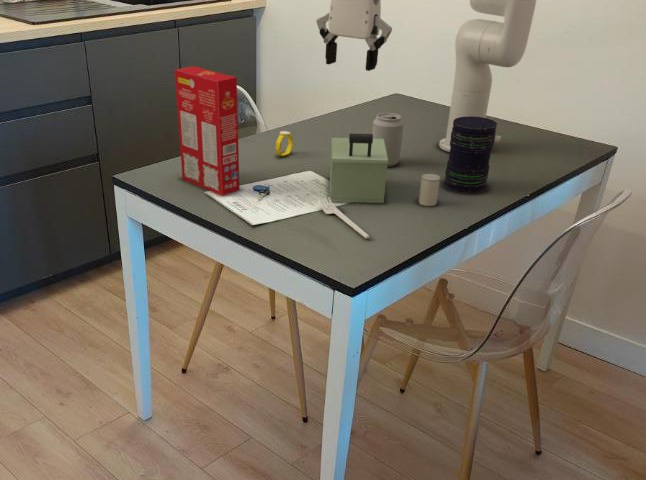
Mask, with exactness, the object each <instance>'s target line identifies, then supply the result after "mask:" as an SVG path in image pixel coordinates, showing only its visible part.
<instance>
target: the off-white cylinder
mask: <svg viewBox="0 0 646 480" xmlns="http://www.w3.org/2000/svg"><path fill="white" fill-rule="evenodd" d="M440 182H441V176H440V175H438V174H434V173H425V174H422V175H421V180H420V187H419V197H418V203H419V205H421V206H425V207H433V206H436V205H437V204H438V196H439V189H440Z"/></svg>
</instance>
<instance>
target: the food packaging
mask: <svg viewBox="0 0 646 480" xmlns="http://www.w3.org/2000/svg"><path fill="white" fill-rule="evenodd" d="M174 79H175V93H176V106H177V121H178V122H177V123H178V136H179V151H180V163H181V164H180V165H181V178H182V180H183V181H185V182H188V183H190V184H193V185H196V186H198V187H200V188H203V189H205V190H208V191H210V192H211V193H215V194H217V195H220V196H225V195H229V194H232V193H235V192H238V191H240V160H239V155H240V154H239V153H240V152H239V118H238V117H239V116H238V77H236V76H233V75H228V74H225V73H221V72H217V71H214V70H209V69H205V68H202V67H198V66H194V65H192V66H187V67H182V68H177V69H174Z"/></svg>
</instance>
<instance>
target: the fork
mask: <svg viewBox="0 0 646 480" xmlns="http://www.w3.org/2000/svg"><path fill="white" fill-rule="evenodd" d="M318 201H319V204H320V206H321V209H322V211H323V213H324V214H325V215H332V214H335V215H336V216H337V217H338V218H340V219H341V220H342V221H343V222H345V223H346V225H349V226H350V227H351V228H352V229H354V230H355V231H356V232H357V233H358V234H359V235H361V236H362V237H363V238H365V239H369V238H370V236H369V234H368V233H366V232H365V231H364V230H363V229H361V227H359V226H358V225H357V224H356V223H355V222H353V220H351V219H350V218H348V216H346V215H345V214H344V213H343V212H342V211H341V210H340V209H339V208H338V207H336V205H335V203H333V202H332V201H331V200H330V196H327V197H326V196H324V198H323V197H318Z"/></svg>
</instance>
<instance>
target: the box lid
mask: <svg viewBox="0 0 646 480" xmlns="http://www.w3.org/2000/svg"><path fill="white" fill-rule="evenodd" d="M331 145H332V162H349V163H388V157H387V153H386V148H385V143H384V139H373V134H372V133H349V135H348V137H331Z"/></svg>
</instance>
